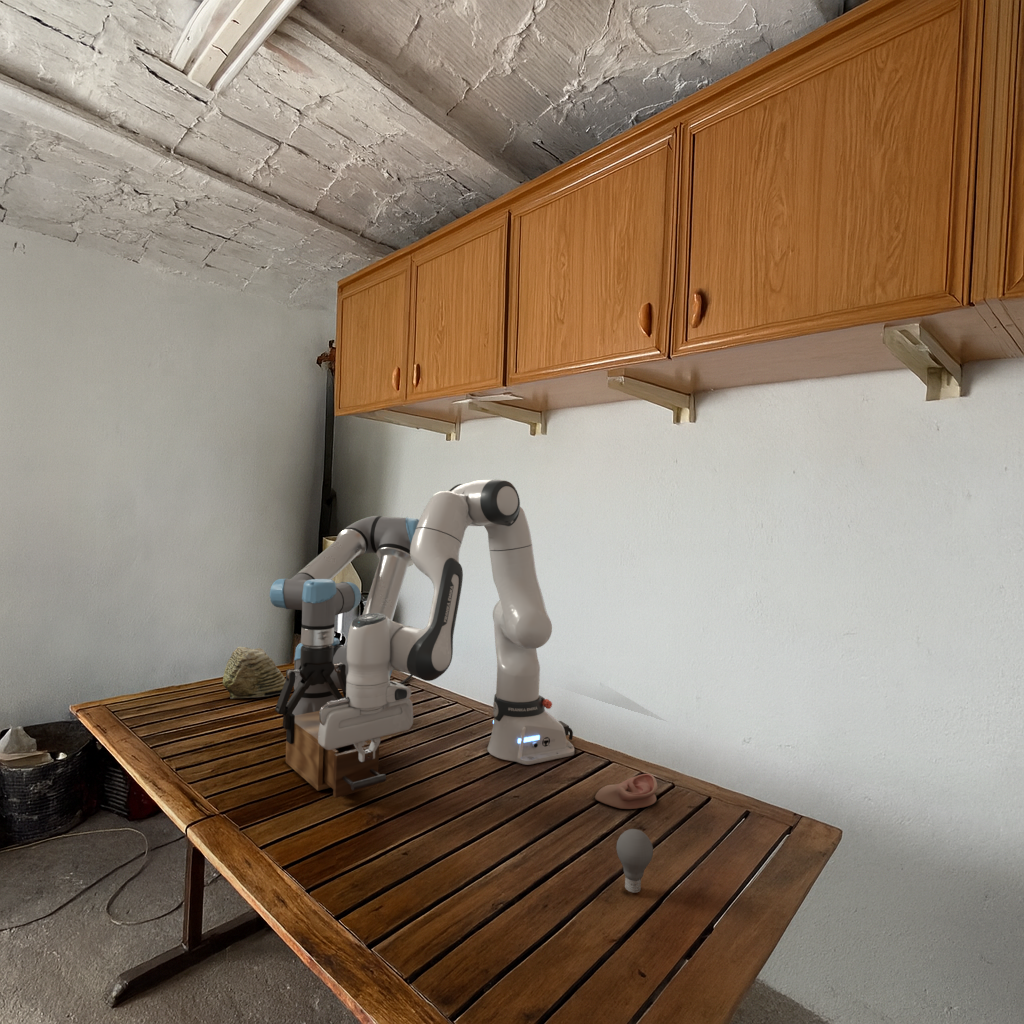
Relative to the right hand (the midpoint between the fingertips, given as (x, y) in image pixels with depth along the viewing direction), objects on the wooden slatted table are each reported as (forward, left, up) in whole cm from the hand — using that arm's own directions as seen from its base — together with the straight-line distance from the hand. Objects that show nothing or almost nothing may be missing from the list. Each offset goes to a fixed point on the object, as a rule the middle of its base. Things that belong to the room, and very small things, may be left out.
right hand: (366, 759), depth 131 cm
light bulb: (-38, +42, -9) cm, 58 cm away
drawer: (+3, -8, -8) cm, 12 cm away
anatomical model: (-55, +12, -9) cm, 57 cm away
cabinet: (+7, -18, -9) cm, 22 cm away
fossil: (+24, -80, -9) cm, 84 cm away
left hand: (+9, -24, -3) cm, 26 cm away
